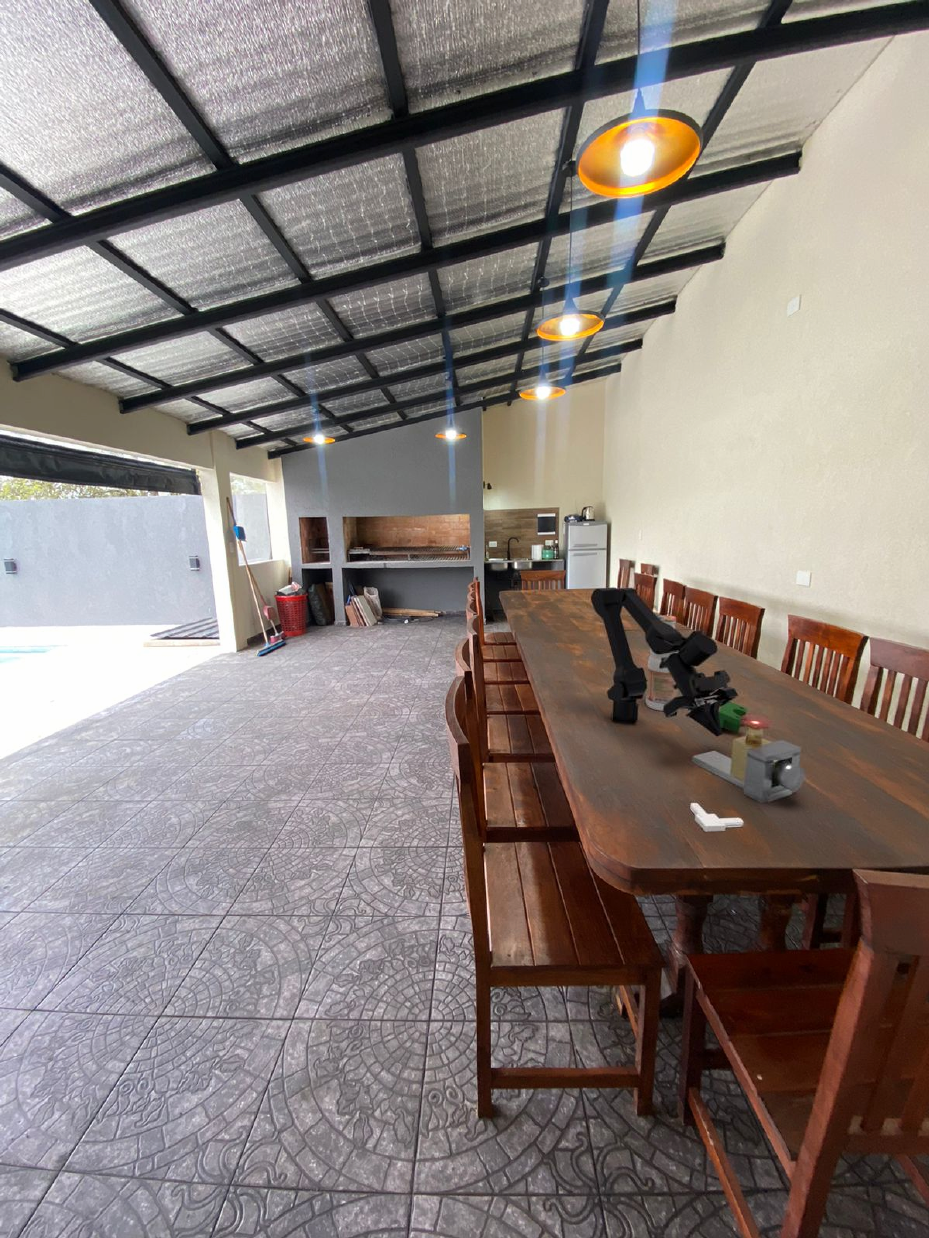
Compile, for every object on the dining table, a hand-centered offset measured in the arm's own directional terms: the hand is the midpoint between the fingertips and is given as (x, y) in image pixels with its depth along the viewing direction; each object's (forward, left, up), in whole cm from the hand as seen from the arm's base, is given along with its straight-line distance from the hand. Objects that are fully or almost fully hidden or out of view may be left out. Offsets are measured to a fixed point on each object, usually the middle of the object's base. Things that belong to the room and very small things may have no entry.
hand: (719, 735), depth 114 cm
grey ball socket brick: (+5, -5, -7) cm, 10 cm away
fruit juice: (-12, +37, -8) cm, 40 cm away
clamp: (+5, +26, -8) cm, 28 cm away
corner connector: (-2, -23, -8) cm, 25 cm away
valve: (+7, -7, -6) cm, 11 cm away
